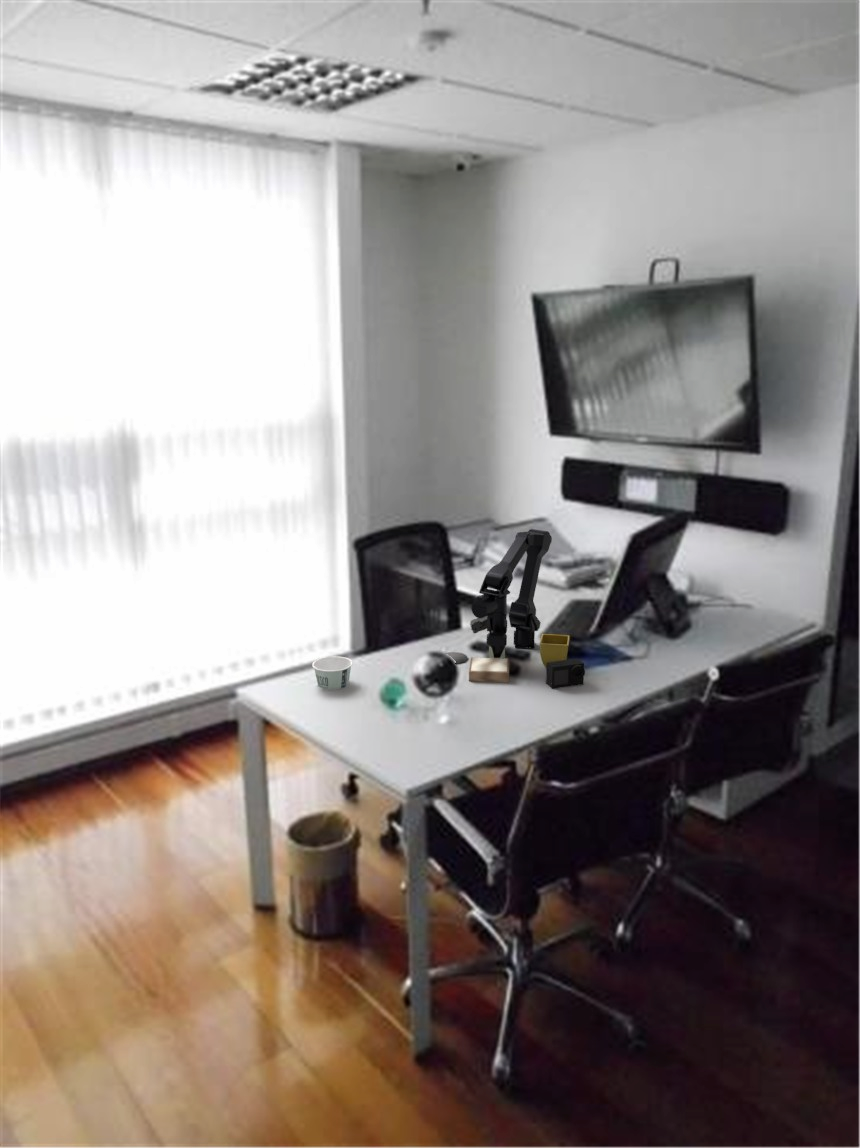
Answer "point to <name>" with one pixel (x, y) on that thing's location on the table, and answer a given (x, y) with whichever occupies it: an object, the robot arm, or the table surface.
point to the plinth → (489, 669)
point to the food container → (332, 672)
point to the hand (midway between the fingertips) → (496, 656)
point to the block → (493, 655)
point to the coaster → (458, 657)
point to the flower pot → (553, 648)
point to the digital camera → (565, 673)
